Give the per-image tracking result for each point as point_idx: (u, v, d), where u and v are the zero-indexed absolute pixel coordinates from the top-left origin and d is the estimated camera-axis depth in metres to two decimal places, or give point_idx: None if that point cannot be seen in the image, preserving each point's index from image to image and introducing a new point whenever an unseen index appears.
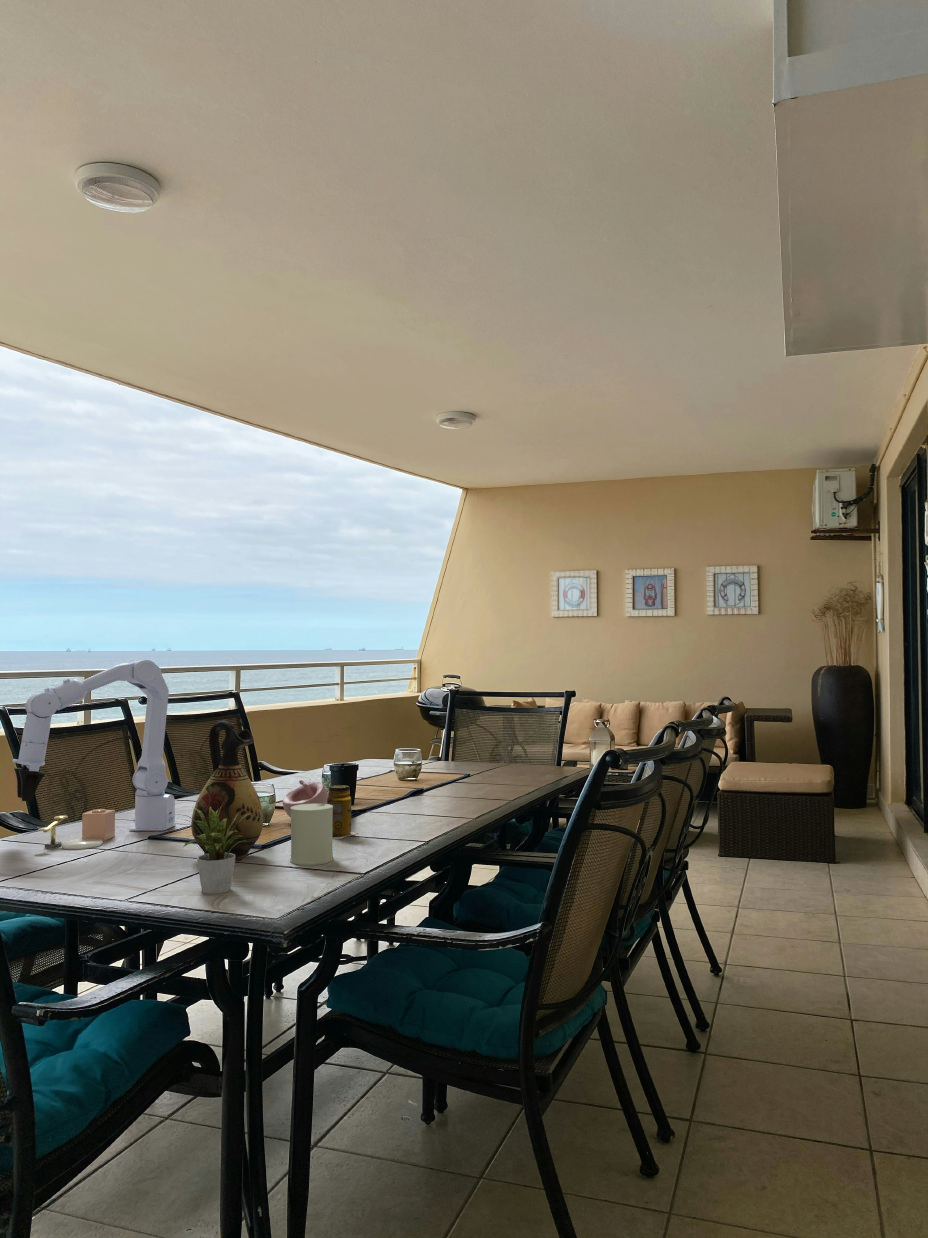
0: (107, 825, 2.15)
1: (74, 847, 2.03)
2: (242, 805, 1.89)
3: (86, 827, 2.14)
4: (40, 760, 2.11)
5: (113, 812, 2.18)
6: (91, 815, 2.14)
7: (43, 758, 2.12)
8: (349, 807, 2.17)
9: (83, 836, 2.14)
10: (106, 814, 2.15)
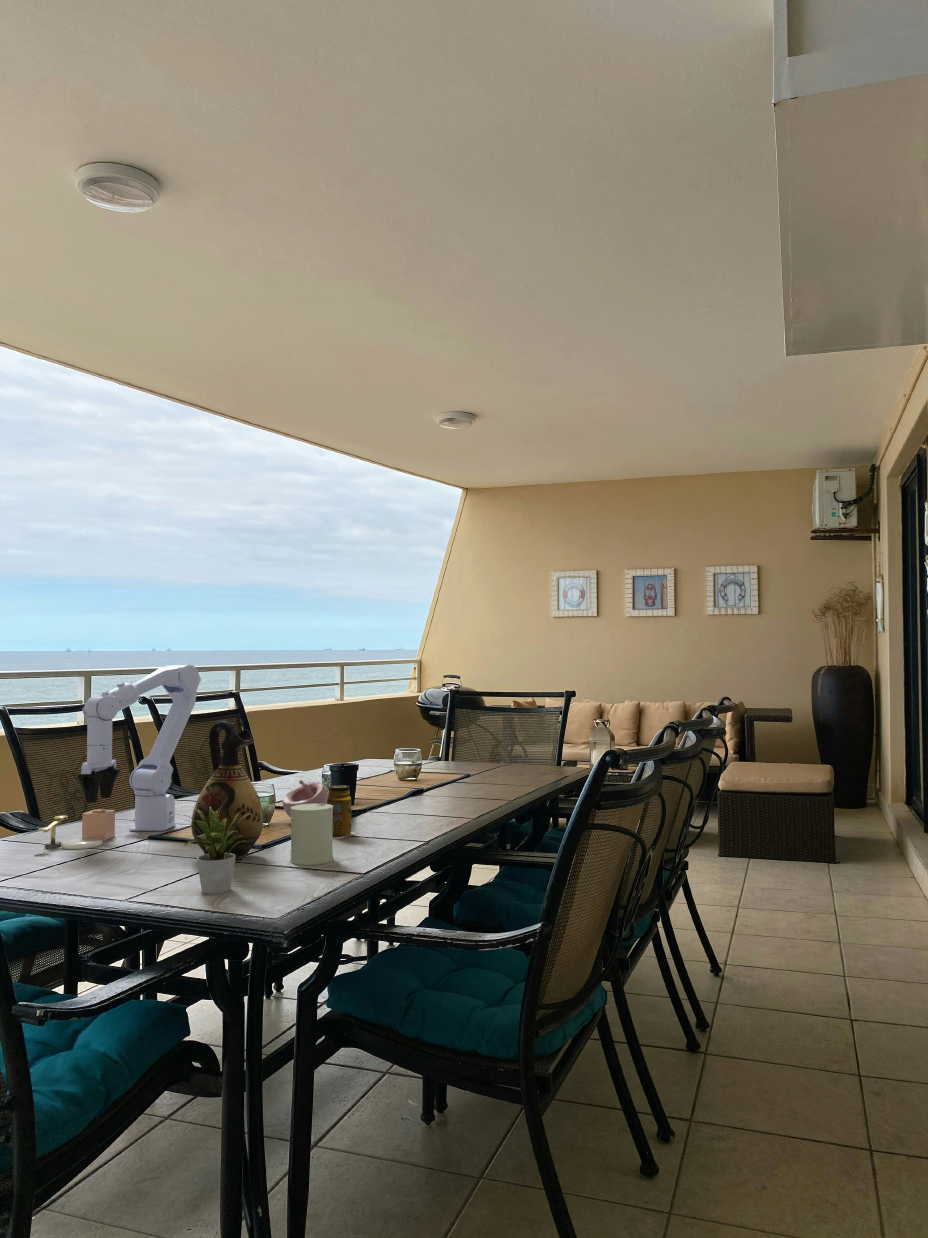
0: (107, 825, 2.15)
1: (74, 847, 2.03)
2: (242, 805, 1.89)
3: (86, 827, 2.14)
4: (101, 762, 2.15)
5: (113, 812, 2.18)
6: (91, 815, 2.14)
7: (106, 759, 2.16)
8: (349, 807, 2.17)
9: (83, 836, 2.14)
10: (106, 814, 2.15)
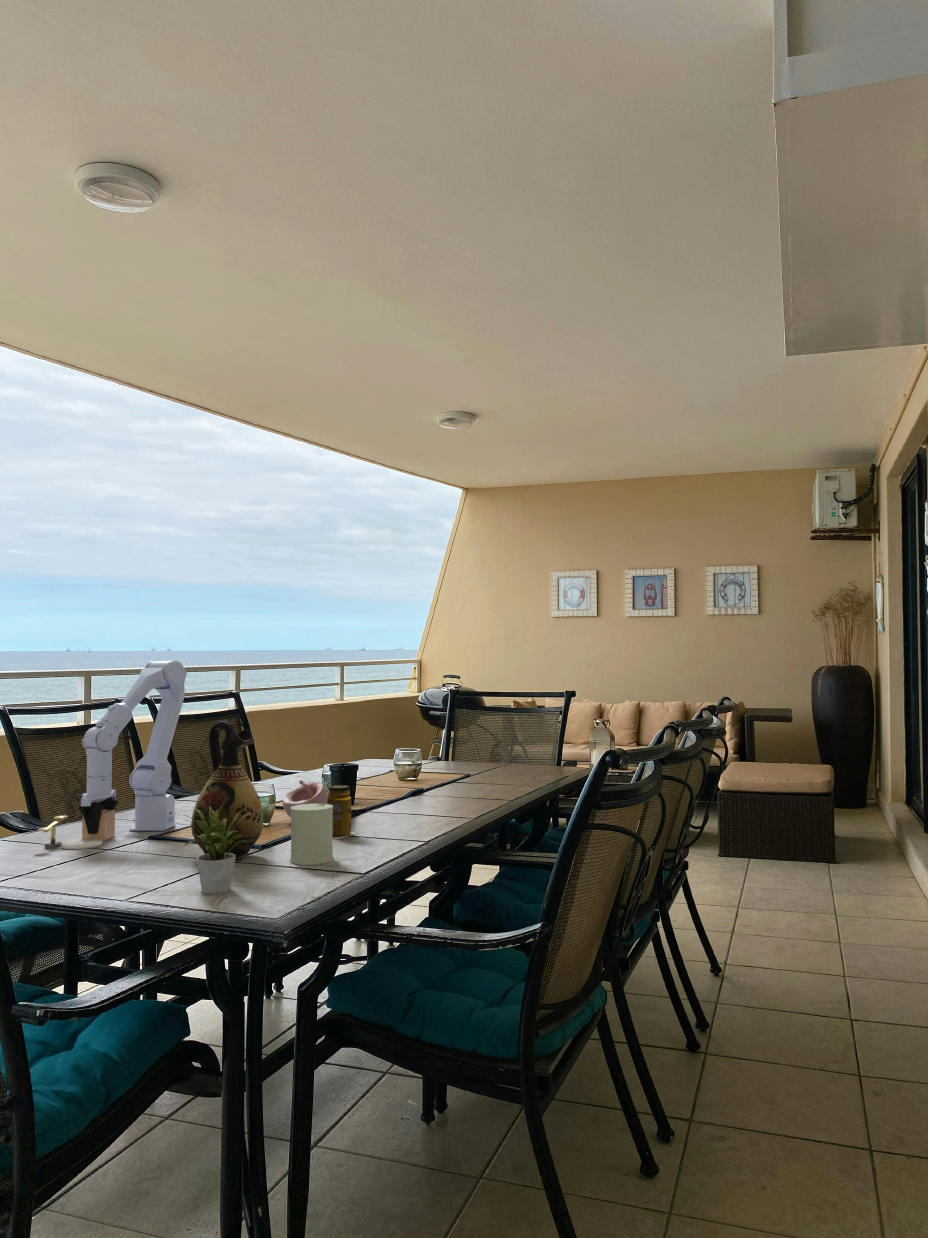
0: (107, 825, 2.15)
1: (74, 847, 2.03)
2: (242, 805, 1.89)
3: (86, 827, 2.14)
4: (101, 793, 2.14)
5: (113, 812, 2.18)
6: None
7: (105, 791, 2.15)
8: (349, 807, 2.17)
9: (83, 836, 2.14)
10: (106, 814, 2.15)
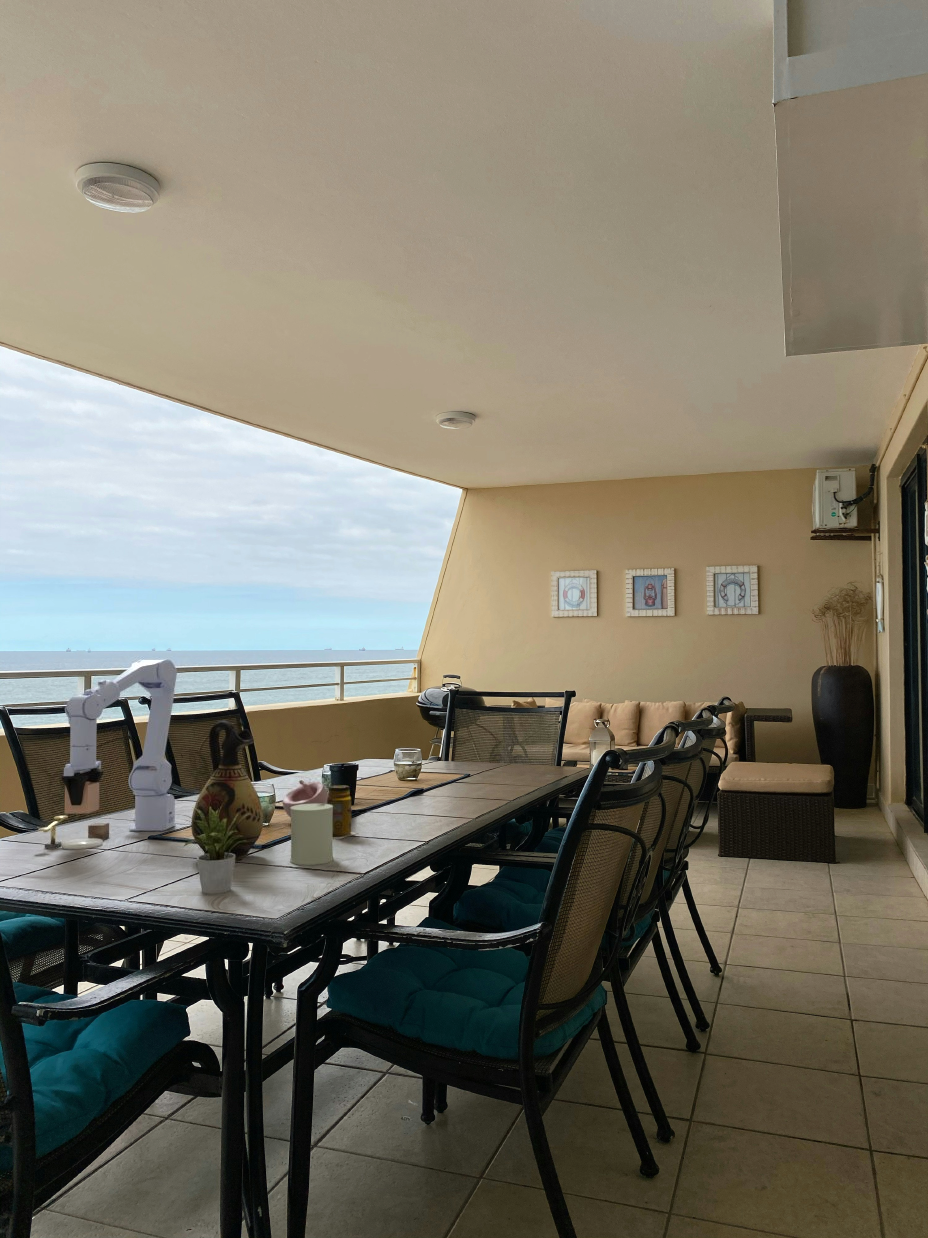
0: (90, 798, 2.07)
1: (74, 847, 2.03)
2: (242, 805, 1.89)
3: (69, 799, 2.06)
4: (85, 763, 2.06)
5: (97, 784, 2.10)
6: None
7: (89, 761, 2.07)
8: (349, 807, 2.17)
9: (66, 809, 2.06)
10: (89, 786, 2.06)
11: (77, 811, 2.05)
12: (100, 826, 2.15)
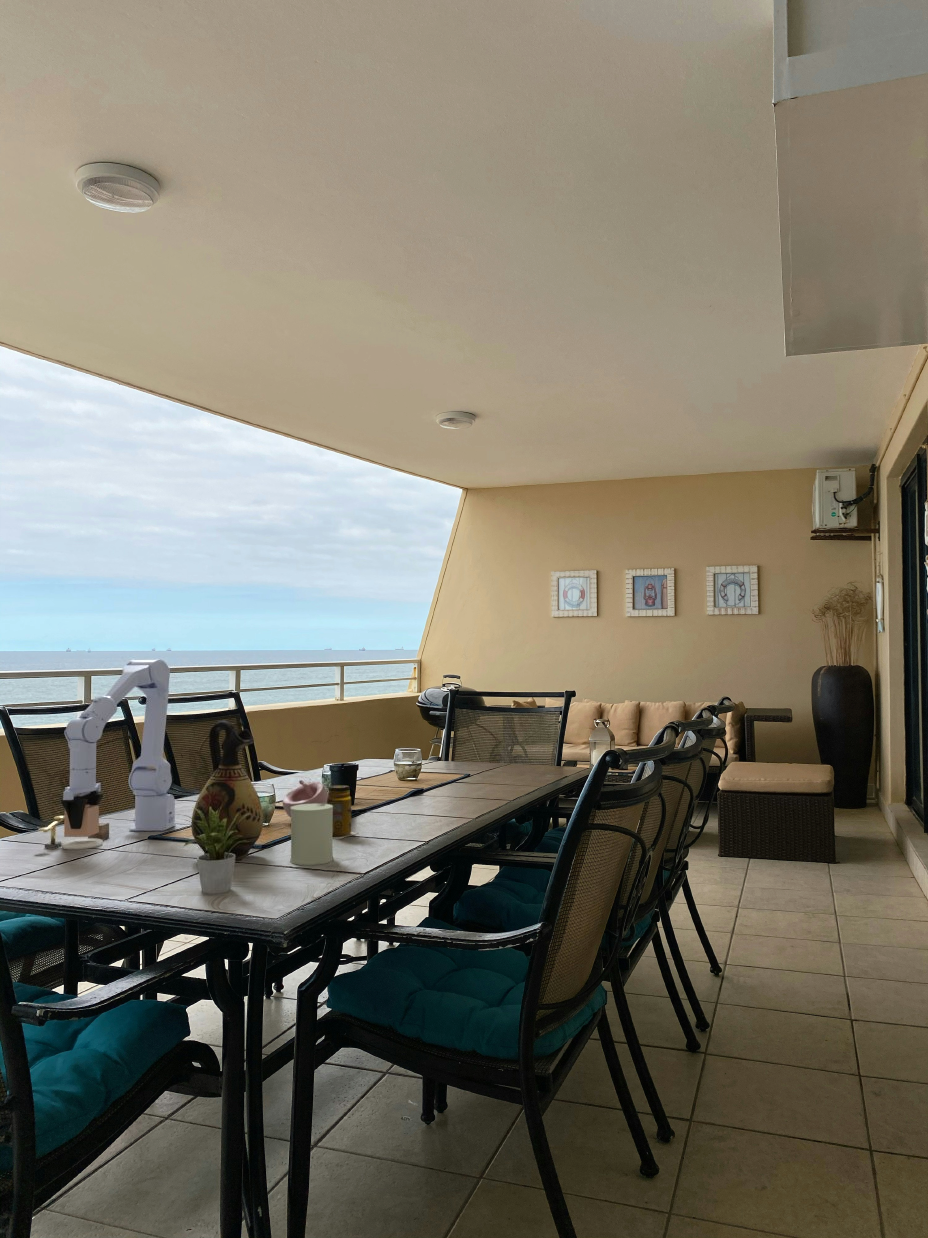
0: (90, 821, 2.06)
1: (74, 847, 2.03)
2: (242, 805, 1.89)
3: (68, 823, 2.05)
4: (85, 787, 2.06)
5: (97, 807, 2.10)
6: None
7: (89, 784, 2.07)
8: (349, 807, 2.17)
9: (65, 832, 2.05)
10: (89, 809, 2.06)
11: (77, 835, 2.05)
12: (100, 826, 2.15)
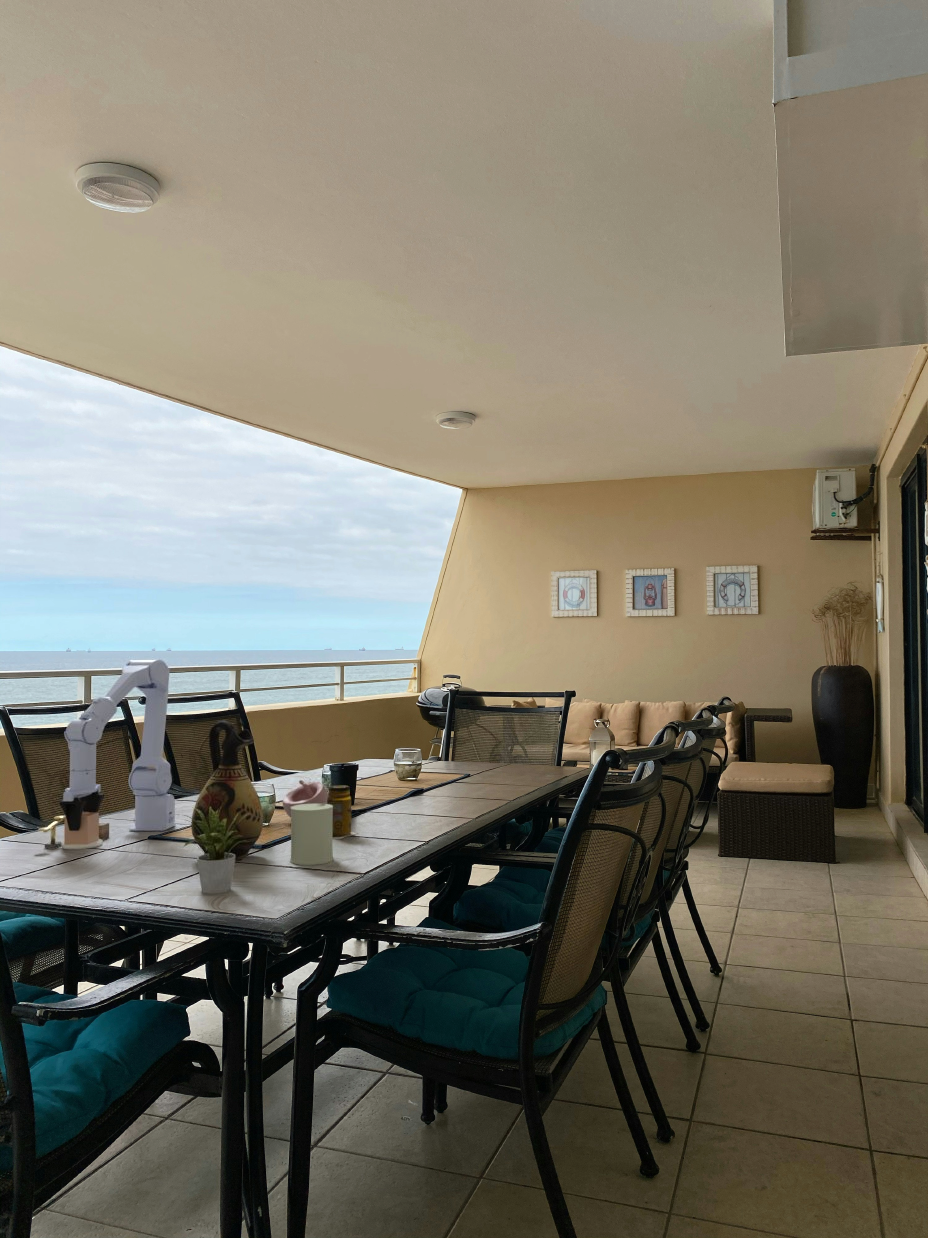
0: (90, 828, 2.06)
1: (74, 847, 2.03)
2: (242, 805, 1.89)
3: (68, 830, 2.05)
4: (85, 788, 2.06)
5: (97, 815, 2.10)
6: None
7: (89, 785, 2.07)
8: (349, 807, 2.17)
9: (65, 840, 2.05)
10: (89, 817, 2.06)
11: (77, 842, 2.05)
12: (100, 826, 2.15)
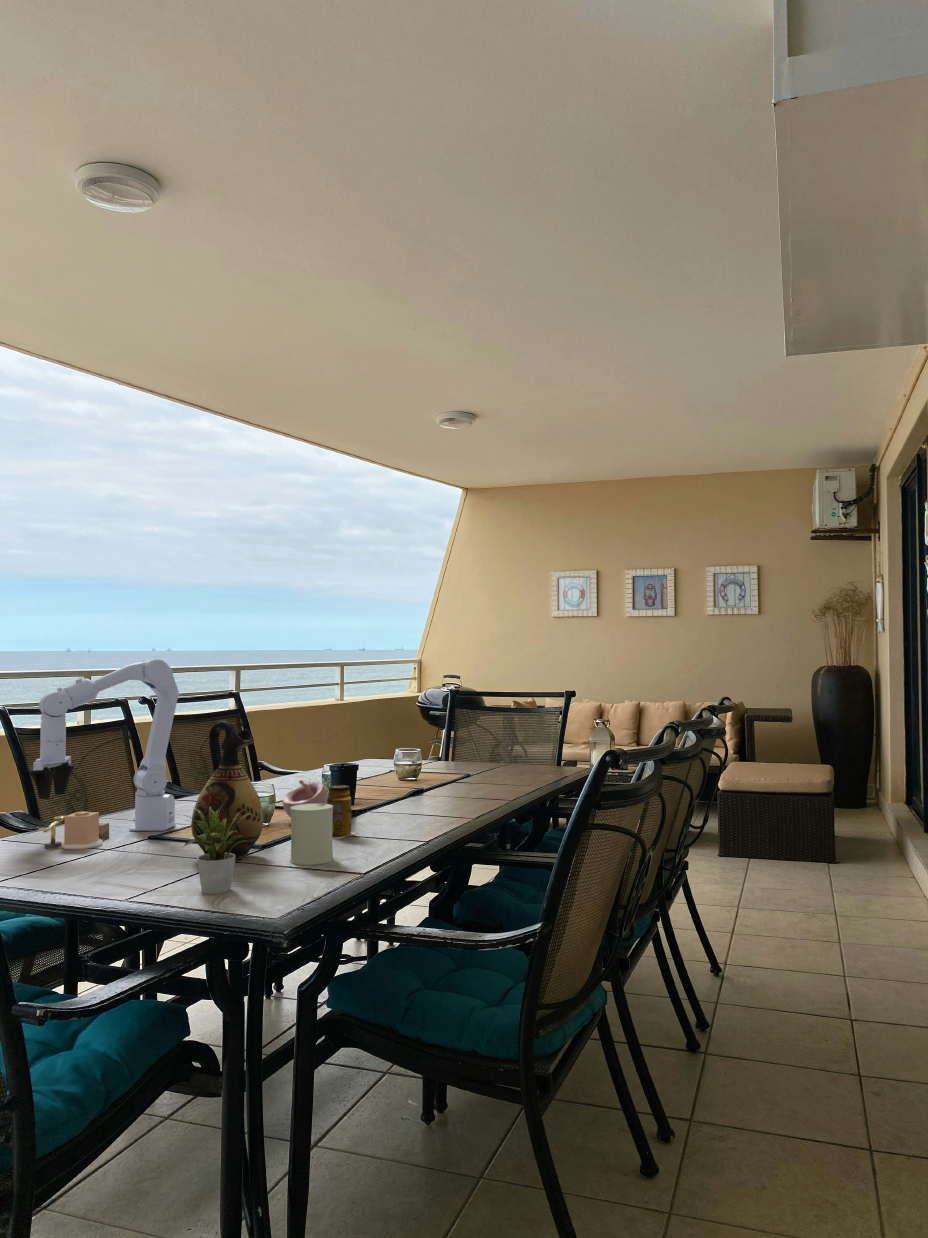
0: (90, 828, 2.06)
1: (74, 847, 2.03)
2: (242, 805, 1.89)
3: (68, 830, 2.05)
4: (54, 758, 2.14)
5: (97, 815, 2.10)
6: (74, 818, 2.05)
7: (59, 756, 2.15)
8: (349, 807, 2.17)
9: (65, 840, 2.05)
10: (89, 817, 2.06)
11: (77, 842, 2.05)
12: (100, 826, 2.15)
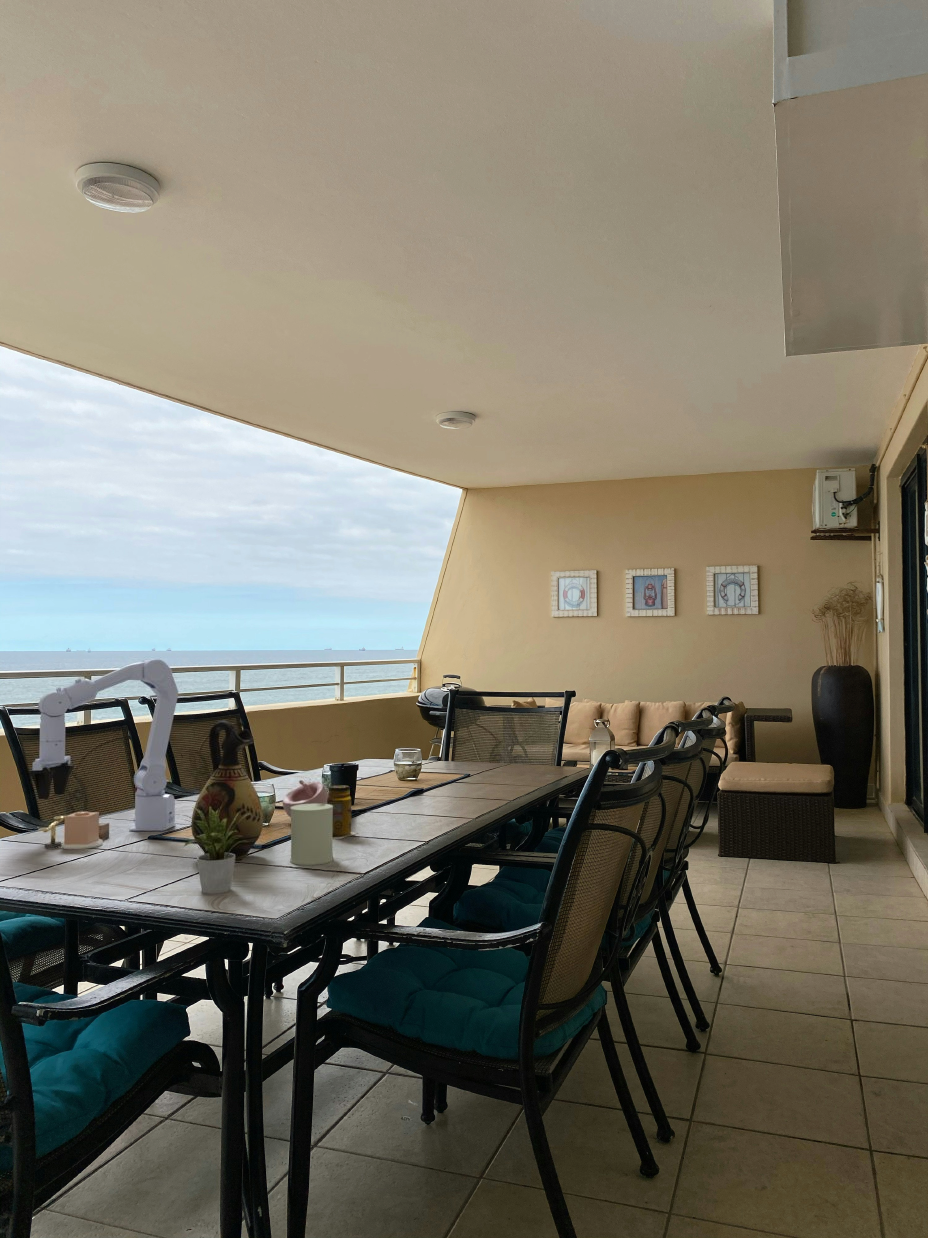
0: (90, 828, 2.06)
1: (74, 847, 2.03)
2: (242, 805, 1.89)
3: (68, 830, 2.05)
4: (54, 758, 2.14)
5: (97, 815, 2.10)
6: (74, 818, 2.05)
7: (58, 756, 2.15)
8: (349, 807, 2.17)
9: (65, 840, 2.05)
10: (89, 817, 2.06)
11: (77, 842, 2.05)
12: (100, 826, 2.15)
